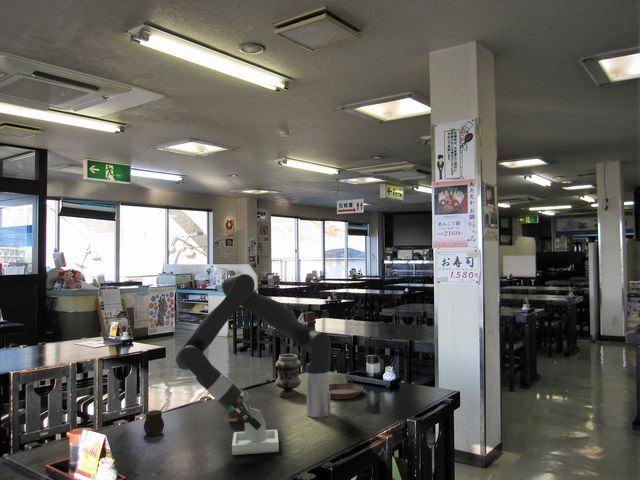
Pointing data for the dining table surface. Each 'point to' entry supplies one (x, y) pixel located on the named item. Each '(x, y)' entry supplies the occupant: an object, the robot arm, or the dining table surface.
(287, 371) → the apothecary jar
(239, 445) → the tray
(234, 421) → the food container
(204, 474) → the dining table surface
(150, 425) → the mate gourd
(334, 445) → the dining table surface
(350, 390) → the plant saucer
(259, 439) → the tea bag
